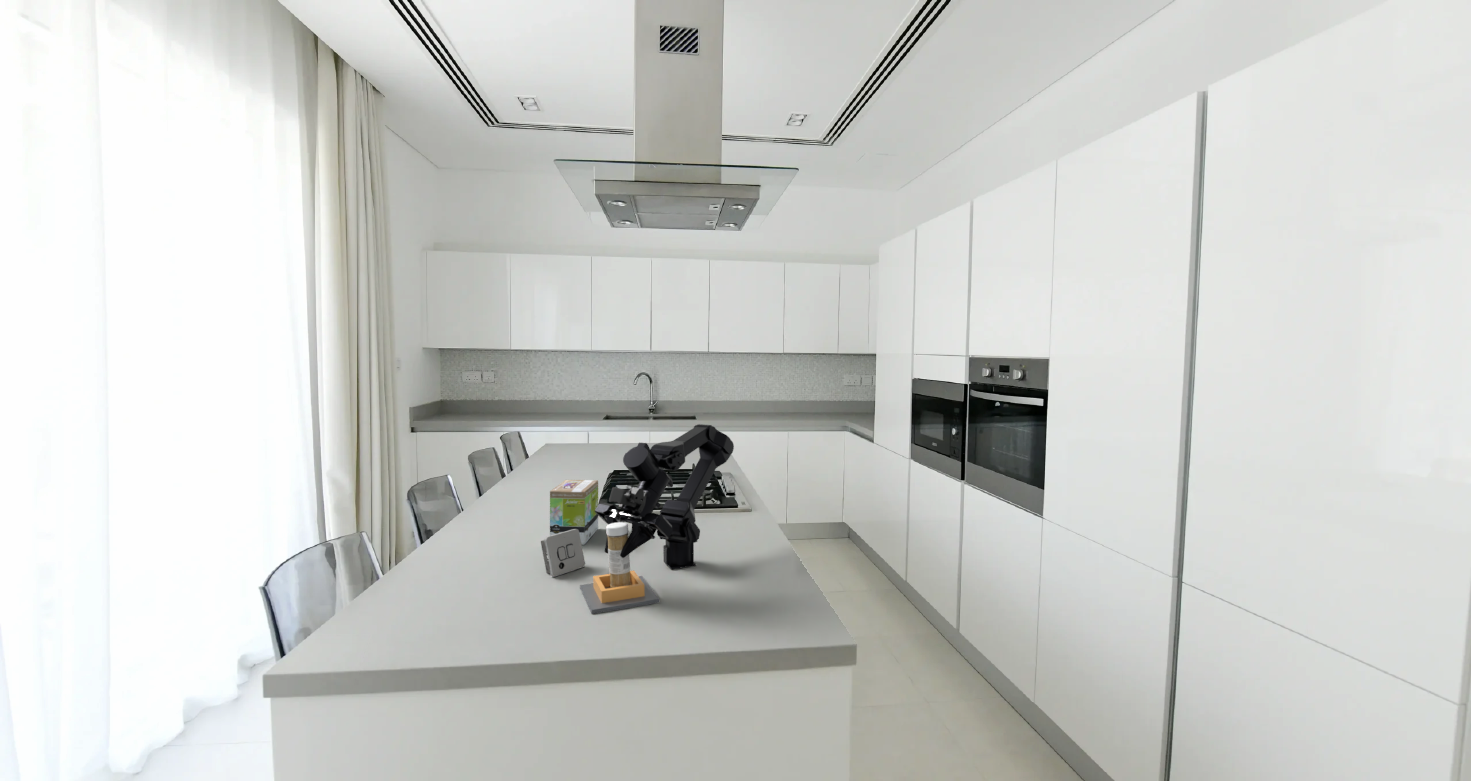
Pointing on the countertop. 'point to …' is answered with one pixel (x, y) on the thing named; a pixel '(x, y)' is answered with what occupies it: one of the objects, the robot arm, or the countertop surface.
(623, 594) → the socket
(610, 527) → the sprinkles bottle
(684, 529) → the robot arm
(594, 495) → the tea box
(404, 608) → the countertop surface
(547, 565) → the electrical switch
